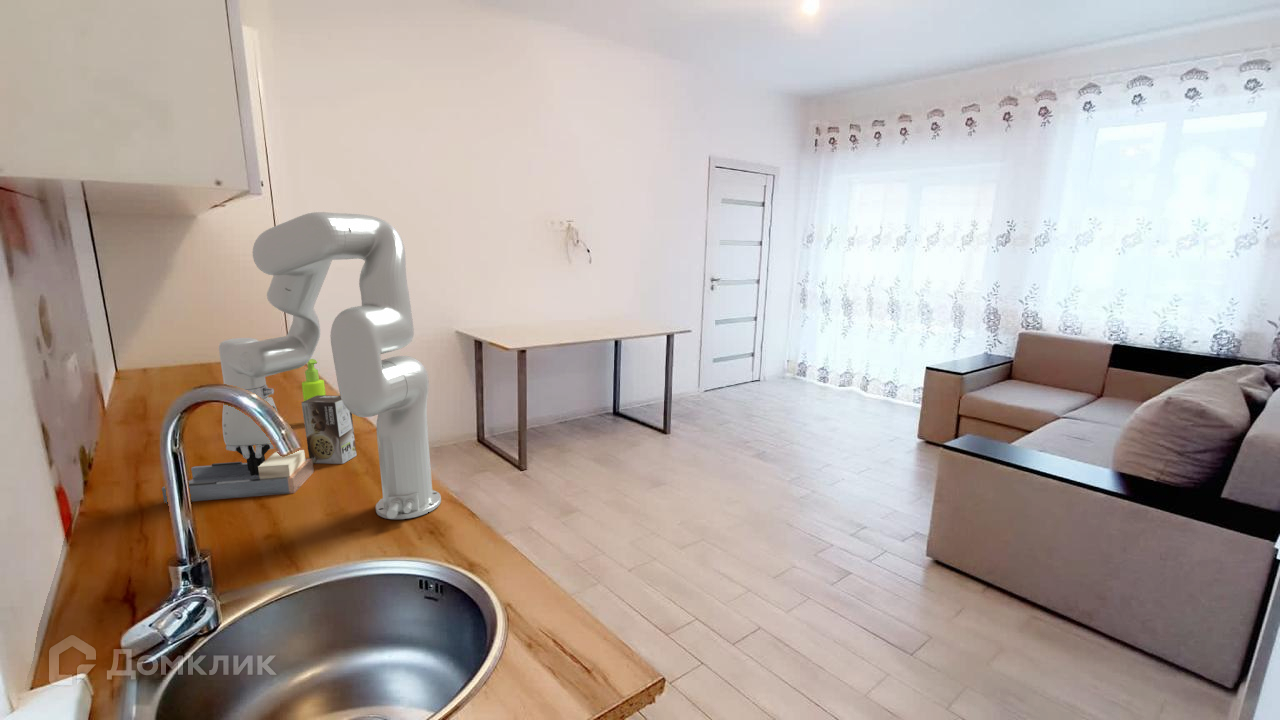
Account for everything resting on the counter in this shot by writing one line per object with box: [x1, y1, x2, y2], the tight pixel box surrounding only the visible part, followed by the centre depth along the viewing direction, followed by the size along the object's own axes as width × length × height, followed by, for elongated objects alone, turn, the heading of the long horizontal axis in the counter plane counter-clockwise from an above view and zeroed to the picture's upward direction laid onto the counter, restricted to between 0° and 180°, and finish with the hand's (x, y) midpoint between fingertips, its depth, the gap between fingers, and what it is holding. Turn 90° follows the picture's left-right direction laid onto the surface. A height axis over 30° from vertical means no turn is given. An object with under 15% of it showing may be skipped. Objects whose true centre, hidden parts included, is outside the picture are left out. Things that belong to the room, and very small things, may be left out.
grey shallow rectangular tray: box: [161, 457, 315, 504], centre depth 127 cm, size 12×25×4 cm, turn 102°
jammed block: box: [258, 449, 306, 479], centre depth 129 cm, size 9×6×5 cm, turn 12°
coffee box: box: [300, 394, 357, 465], centre depth 142 cm, size 9×6×16 cm
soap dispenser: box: [301, 358, 327, 401], centre depth 171 cm, size 6×7×20 cm
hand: (257, 472), depth 128 cm, fingers closed
